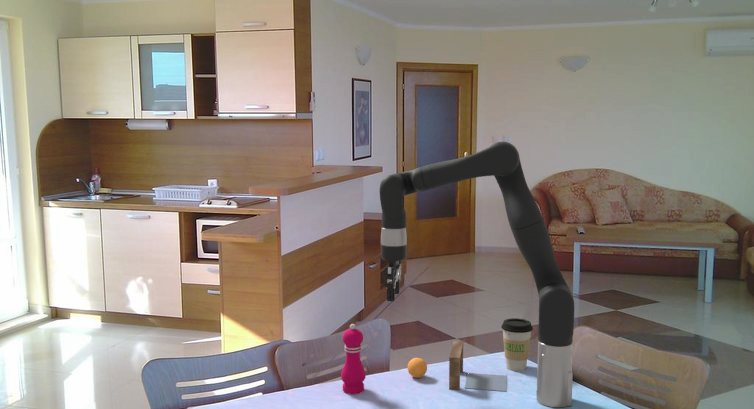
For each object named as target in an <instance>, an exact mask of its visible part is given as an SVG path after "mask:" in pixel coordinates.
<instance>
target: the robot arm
mask: <svg viewBox="0 0 754 409" xmlns="http://www.w3.org/2000/svg"><path fill="white" fill-rule="evenodd" d="M520 158H521V157H520V153H519V151H518V149H517V147H516V146H515V145H514V144H512V143H510V142H508V141H498V142H495V143H493V144H492V145H490V146H488V147H487V148H484V149H481V150H480V151H478V152H475V153H473V154H470V155H466V156H463V157H458V158H455V159H448V160H442V161H439V162H434V163H431V164H427V165H422V166H419V167H417V168H414V169H413V170H412V169H411V170H410V169H409V170H407V171H403V172H402V171H401V172H396V173H392V174H388V175H386V176H384V178H383V179H382V180H381V182H380V184H379V201H380V207H381V231H380V232H381V233H380V259H382V260H384V261H387V265H386V266H385V268H384V270H385V271H384V274H385V275H384V288H386V300H387V302H395V299H396V295H399V294H400V289H401V288H400V284H401V279H402V277H403V276H402V261H404V260H406V259H407V254H408V253H407V252H408V251H407V247H408V246H407V238H408V237H407V214H406V209H404V197H405V196H408V195H411V194H412V195H413V194H414V193H418V192H419V193H420V192H422V193H423V192H427V191H431V190H436V189H438V188H439V189H440V188H443V187H446V186H449V185H453V184H456V183H458V182H459V183H460V182H462V181H466V180H469V179H470V180H471V179H474V178H481V177H492V176H493V177H494V178H495V180H496V182H497V185H498V187H499V188H500V189H499V190H500V191H501V194H502V198H503V203H504V207H505V213H506V217H507V220H508V223H509V224H508V225H509V228H510V230H511V233H512V235H513V238H514V240H515V243H516V246H517V247H518V249H519V251H520V254H521V255H522V257H523V259H524V260H525V262H526V264H527V265H528V267H529V268H530V271H531V274H532V276H533V278H534V283H535V287H536V290H537V294H538V295H537V296H538V328H537V330H538V331H537V332H538V333H537V364H536V365H537V368H536V369H537V371H536V374H537V375H536V401H537V402H538V403H539V404H541V405H542V406H546V407H551V408H564V407H572V405H573V404H572V403H573V401H572V400H573V369H572V368H573V367H572V366H573V340H574V339H573V338H574V329H575V328H574V327H575V299H574V295H573V293H572V291H571V289H570V287H569V285H568V284H567V281H566V280H565V278H564V276H563V274H562V272H561V270H560V267H559V266H558V263H557V260H556V259H557V258H556V256H555V251H554V247H553V243H552V240H551V237H550V233H549V230H548V227H547V224H546V222H545V220H544V217H543V214H542V212H541V211H540V207H539V206H538V204H537V202H536V199H535V198H534V196H533V194H532V192H531V190H530V189H529V186H528V183H527V181H526V178H525V173H524V170H523V167H522V162H521V159H520ZM390 282H391V283H390Z"/></svg>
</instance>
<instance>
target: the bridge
mask: <svg viewBox="0 0 754 409" xmlns="http://www.w3.org/2000/svg"><path fill="white" fill-rule="evenodd" d="M448 358H449V360H448V362H449V364H448V366H449V367H448V372H449V373H448V375H449V376H448V390H453V391H454V390H455V391H460V388H461V374H460V373H464V341H458V340H453V344H452V346H451V350H450V354H449V357H448Z"/></svg>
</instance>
